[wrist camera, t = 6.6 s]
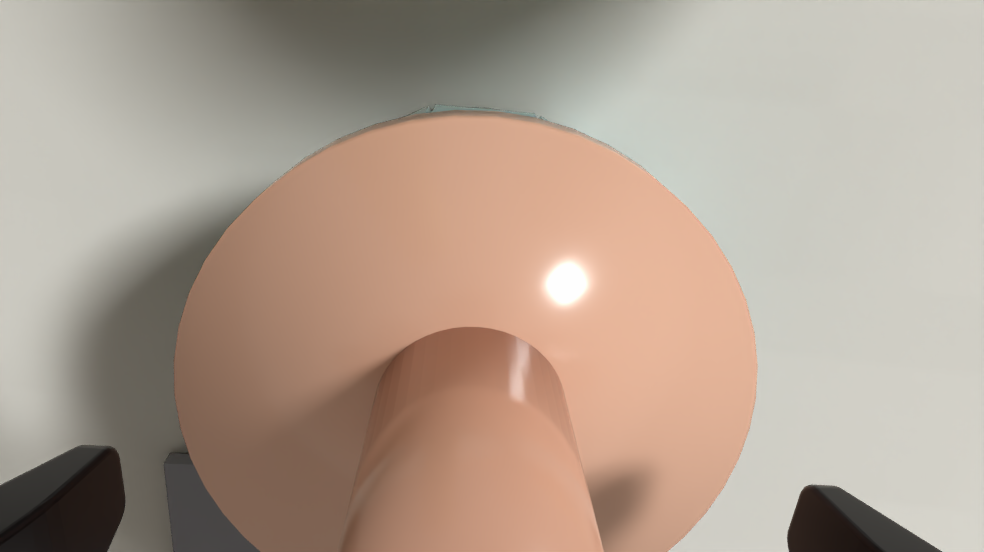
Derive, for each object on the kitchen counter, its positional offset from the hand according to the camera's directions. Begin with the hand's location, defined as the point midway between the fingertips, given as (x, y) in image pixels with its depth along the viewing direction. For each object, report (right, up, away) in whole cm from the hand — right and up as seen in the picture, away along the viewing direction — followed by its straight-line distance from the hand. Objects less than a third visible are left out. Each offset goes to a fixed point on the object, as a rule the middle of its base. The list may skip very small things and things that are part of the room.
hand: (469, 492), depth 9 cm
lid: (0, +1, +3) cm, 3 cm away
